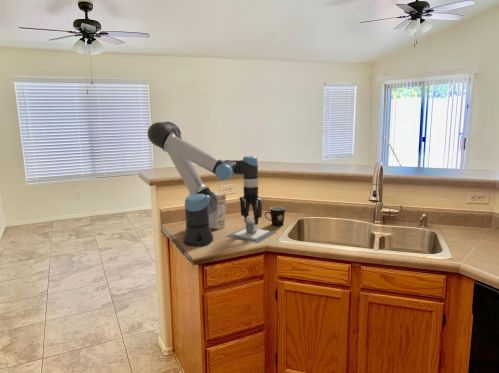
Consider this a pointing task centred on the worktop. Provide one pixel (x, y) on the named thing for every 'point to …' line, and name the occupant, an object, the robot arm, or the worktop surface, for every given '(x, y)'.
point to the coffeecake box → (218, 213)
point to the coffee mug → (277, 215)
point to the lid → (251, 232)
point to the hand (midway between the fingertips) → (251, 229)
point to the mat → (250, 239)
